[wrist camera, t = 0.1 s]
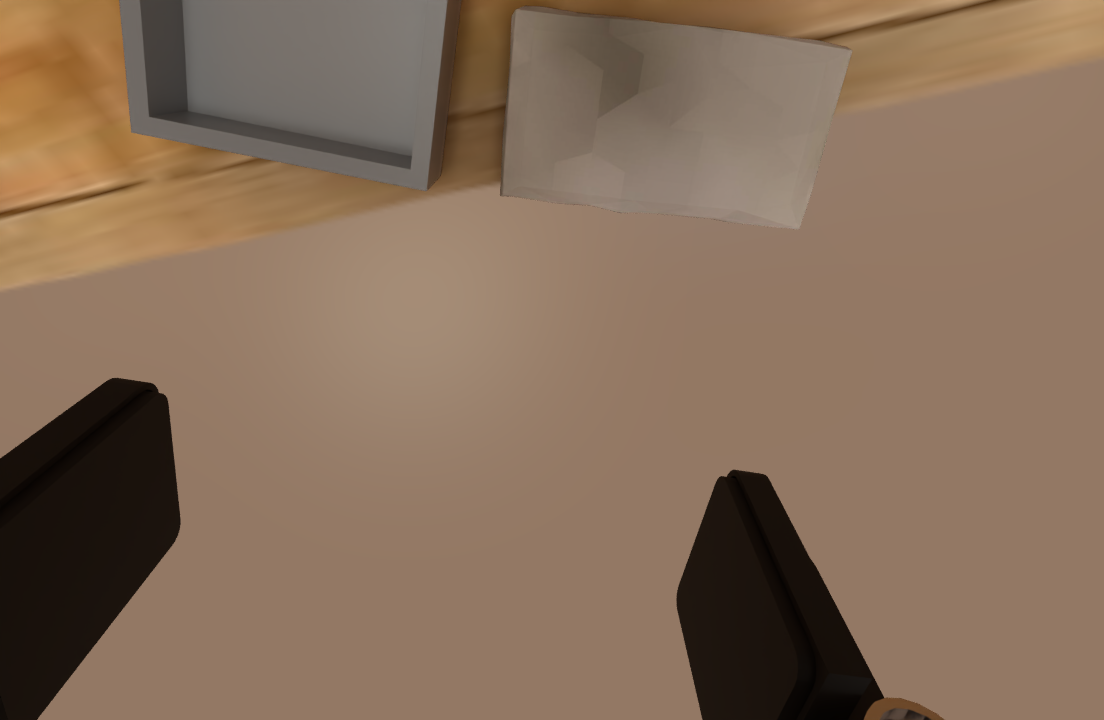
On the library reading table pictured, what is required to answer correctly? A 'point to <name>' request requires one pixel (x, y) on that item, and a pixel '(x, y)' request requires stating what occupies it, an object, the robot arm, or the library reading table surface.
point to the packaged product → (666, 117)
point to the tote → (298, 80)
